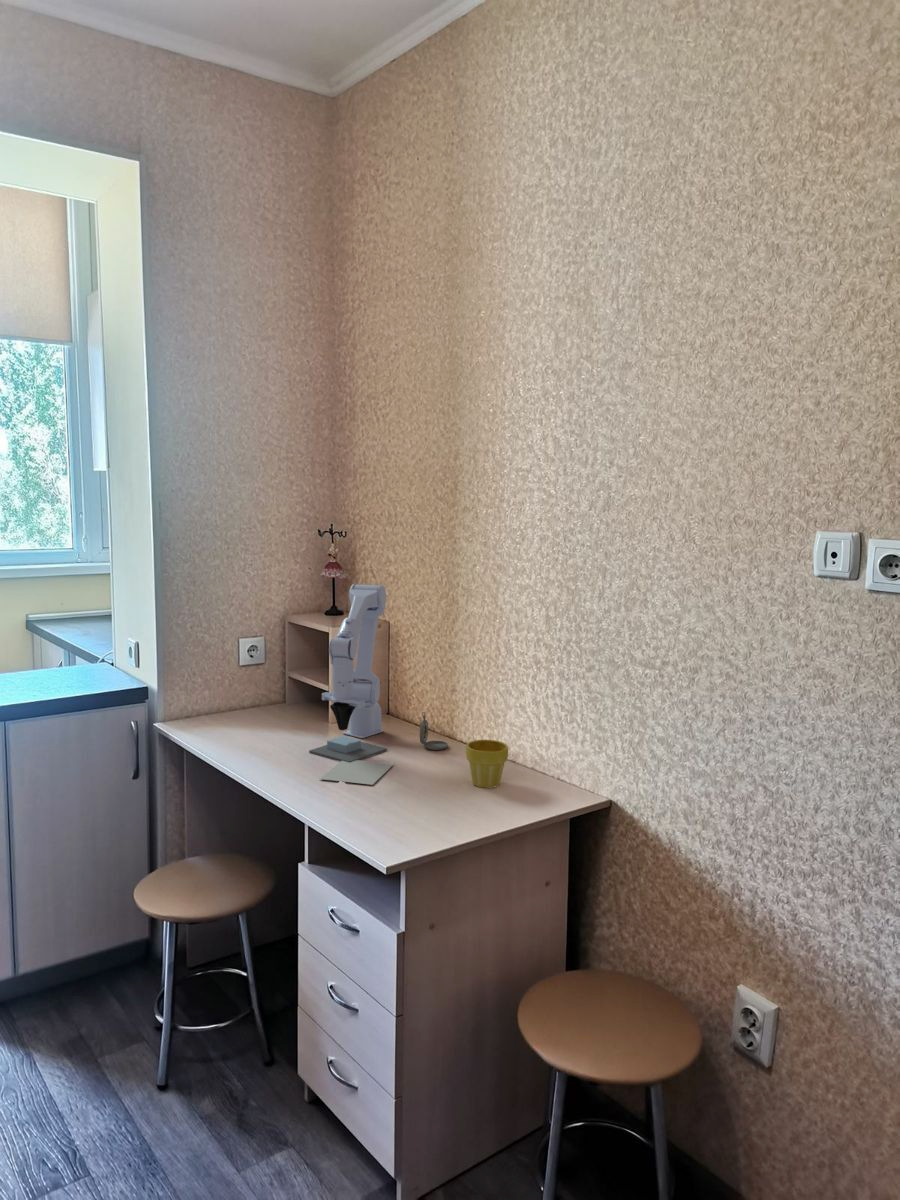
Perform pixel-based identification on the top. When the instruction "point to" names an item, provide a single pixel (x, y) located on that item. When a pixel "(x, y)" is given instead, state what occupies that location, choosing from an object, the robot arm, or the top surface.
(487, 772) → the plant pot
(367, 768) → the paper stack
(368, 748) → the mat
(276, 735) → the top surface
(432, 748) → the pocket watch
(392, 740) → the top surface
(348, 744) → the blue-grey rectangular block
